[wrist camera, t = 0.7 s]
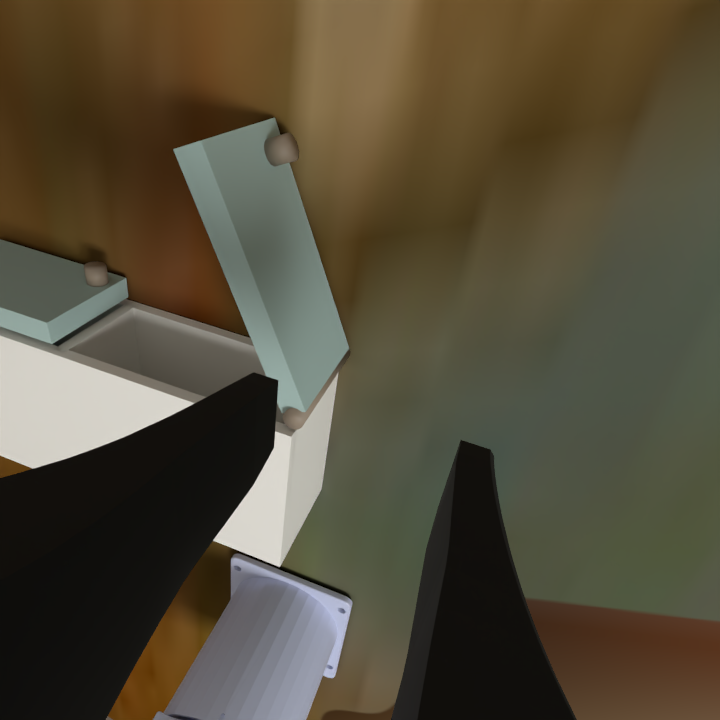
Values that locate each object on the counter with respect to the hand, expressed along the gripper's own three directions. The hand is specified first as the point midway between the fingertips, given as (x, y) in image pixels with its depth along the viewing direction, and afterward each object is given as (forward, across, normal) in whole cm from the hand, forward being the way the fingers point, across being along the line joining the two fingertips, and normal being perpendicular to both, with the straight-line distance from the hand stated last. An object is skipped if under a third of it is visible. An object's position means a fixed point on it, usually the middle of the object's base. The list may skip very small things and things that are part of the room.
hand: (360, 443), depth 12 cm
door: (+10, +5, 0) cm, 11 cm away
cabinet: (+10, +12, +8) cm, 18 cm away
